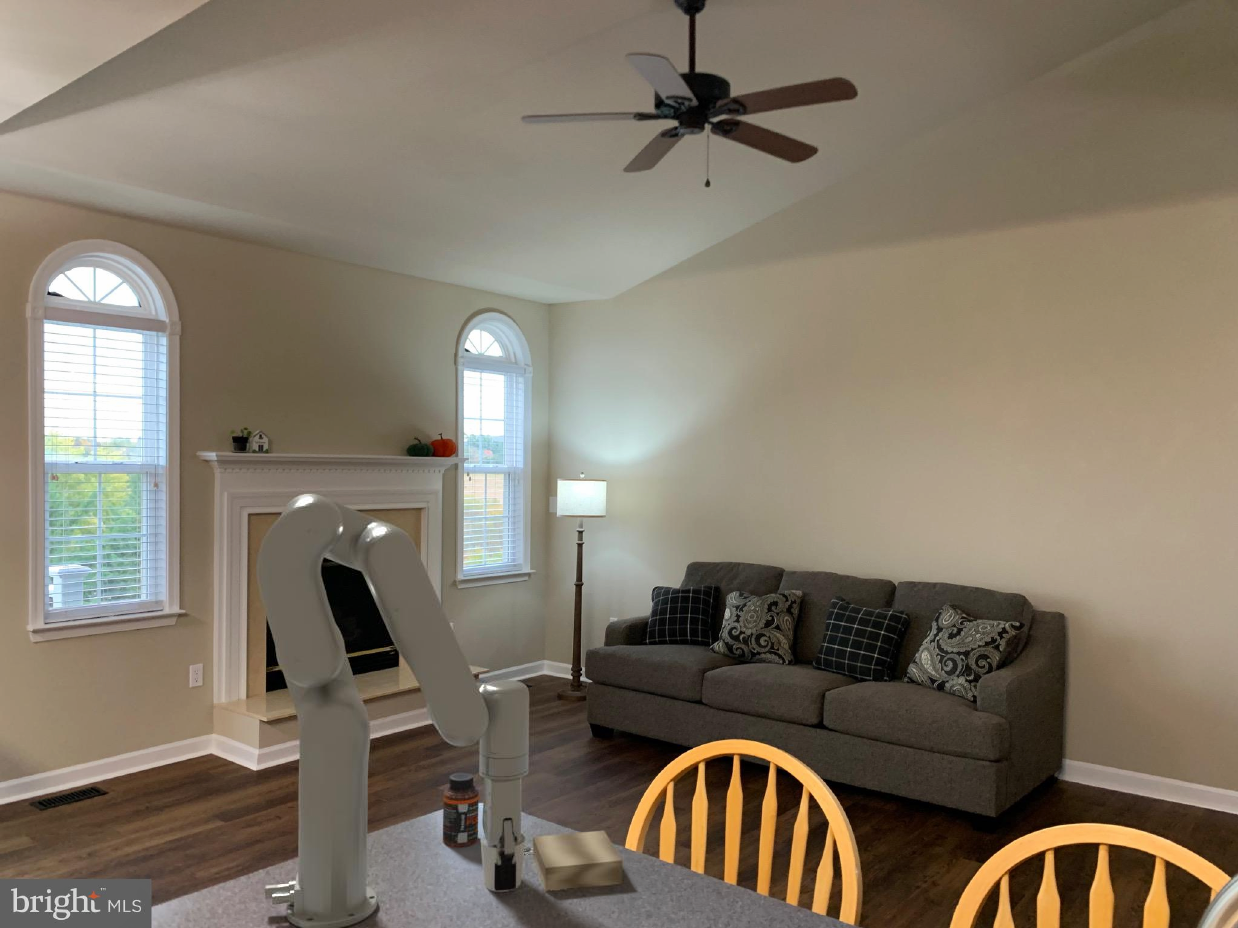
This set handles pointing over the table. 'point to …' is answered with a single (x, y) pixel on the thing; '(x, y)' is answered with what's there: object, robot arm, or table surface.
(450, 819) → the supplement bottle
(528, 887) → the table surface
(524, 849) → the push button plate
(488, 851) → the light grey cup
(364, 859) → the robot arm
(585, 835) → the maple block
